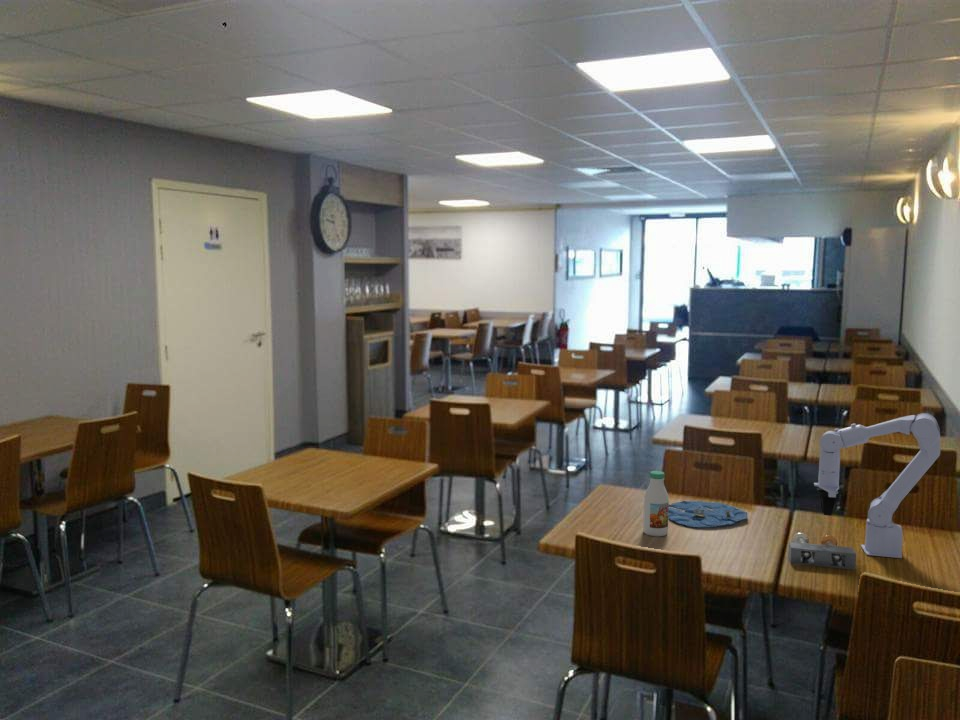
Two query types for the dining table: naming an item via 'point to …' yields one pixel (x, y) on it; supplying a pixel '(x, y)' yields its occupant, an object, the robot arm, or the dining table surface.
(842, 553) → the block
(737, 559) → the dining table surface
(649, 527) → the milk bottle
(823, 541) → the pin
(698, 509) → the decorative plate
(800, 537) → the pin
